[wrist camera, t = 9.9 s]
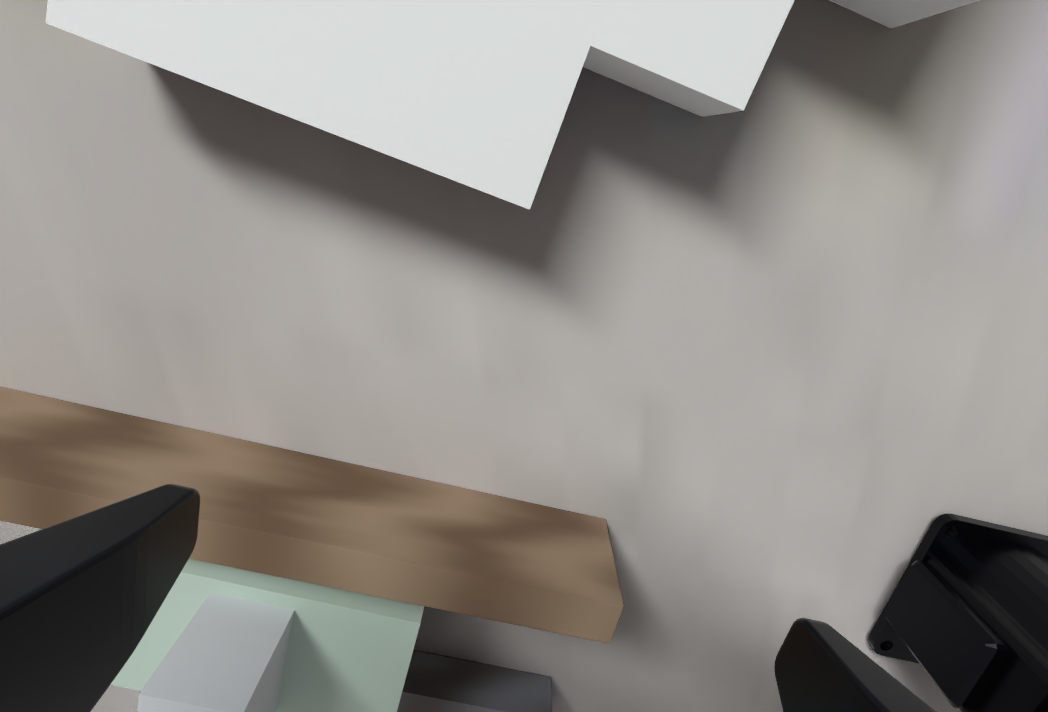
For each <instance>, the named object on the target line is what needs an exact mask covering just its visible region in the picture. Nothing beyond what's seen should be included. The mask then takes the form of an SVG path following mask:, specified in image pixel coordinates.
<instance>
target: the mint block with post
mask: <svg viewBox="0 0 1048 712" xmlns="http://www.w3.org/2000/svg"><path fill="white" fill-rule="evenodd" d="M423 610H424V606H421V605H416V604H411V603H406V602H401V601H396V600H391V599H386V598H381V597H376V596H371V595H366V594H361V593H356V592H352V591H347V590H342V589H337V588H332V587H327V586H322V585H317V584H312V583H307V582H302V581H297V580H292V579H287V578H282V577H277V576H272V575H267V574H263V573H258V572H253V571H248V570H243V569H238V568H233V567H228V566H223V565H218V564H213V563H208V562H203V561H198V560H193V559H188V561H187V563H186V565H185V566H184V568H183V570H182V571H181V573H180V575H179V576H178V578H177V580H176V582H175V583H174V585H173V587H172V588H171V590H170V592H169V593H168V595H167V597H166V598H165V600H164V602H163V604H162V605H161V607H160V609H159V610H158V612H157V614H156V615H155V617H154V619H153V621H152V622H151V624H150V626H149V627H148V629H147V631H146V632H145V634H144V636H143V637H142V639H141V641H140V642H139V644H138V646H137V647H136V649H135V650H134V652H133V654H132V655H131V656H130V658H129V659H128V661H127V662H126V664H125V665H124V666H123V668H122V669H121V671H120V672H119V673H118V675H117V676H116V678H115V679H114V680H113V682H112V683H111V684H110V685H114V686H119V687H124V688H129V689H134V690H139V691H140V693H139V696H138V709H137V712H397V709H398V706H399V702H400V698H401V694H402V691H403V687H404V683H405V679H406V676H407V672H408V668H409V664H410V661H411V657H412V653H413V649H414V646H415V642H416V638H417V635H418V631H419V627H420V623H421V619H422V614H423Z"/></svg>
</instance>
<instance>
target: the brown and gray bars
mask: <svg viewBox="0 0 1048 712" xmlns="http://www.w3.org/2000/svg"><path fill="white" fill-rule="evenodd" d="M166 484H176V485H181V486H185V487H190V488H195V489H196V490H197V491H198V492H199V493H200V511H199V523H198V535H197V541H196V545H195V547H194V550H193V552H192V554H191V556H190V558H189V559H193V560H198V561H203V562H208V563H213V564H218V565H223V566H228V567H233V568H238V569H243V570H248V571H253V572H258V573H263V574H267V575H272V576H277V577H282V578H287V579H292V580H297V581H302V582H307V583H312V584H317V585H322V586H327V587H332V588H337V589H342V590H347V591H352V592H356V593H361V594H366V595H371V596H376V597H381V598H386V599H391V600H396V601H401V602H406V603H411V604H416V605H421V606H426V607H431V608H436V609H441V610H445V611H450V612H455V613H460V614H465V615H470V616H475V617H480V618H485V619H490V620H495V621H500V622H505V623H510V624H515V625H520V626H525V627H529V628H534V629H539V630H544V631H549V632H554V633H559V634H564V635H569V636H574V637H579V638H584V639H589V640H594V641H599V642H604V643H609V644H610V641H611V639H612V636H613V633H614V631H615V628H616V626H617V623H618V620H619V618H620V615H621V612H622V610H623V607H624V605H623V600H622V595H621V591H620V586H619V581H618V576H617V571H616V567H615V562H614V557H613V552H612V548H611V543H610V538H609V533H608V529H607V524H606V519H602V518H597V517H592V516H588V515H583V514H579V513H574V512H570V511H565V510H560V509H556V508H551V507H547V506H542V505H538V504H533V503H528V502H524V501H519V500H515V499H510V498H506V497H501V496H496V495H492V494H487V493H483V492H478V491H474V490H469V489H464V488H460V487H455V486H451V485H446V484H442V483H437V482H432V481H428V480H423V479H419V478H414V477H410V476H405V475H400V474H396V473H391V472H387V471H382V470H378V469H373V468H368V467H364V466H359V465H355V464H350V463H346V462H341V461H336V460H332V459H327V458H323V457H318V456H314V455H309V454H304V453H300V452H295V451H291V450H286V449H282V448H277V447H273V446H268V445H263V444H259V443H254V442H250V441H245V440H241V439H236V438H231V437H227V436H222V435H218V434H213V433H209V432H204V431H199V430H195V429H190V428H186V427H181V426H177V425H172V424H167V423H163V422H158V421H154V420H149V419H145V418H140V417H135V416H131V415H126V414H122V413H117V412H113V411H108V410H103V409H99V408H94V407H90V406H85V405H81V404H76V403H71V402H67V401H62V400H58V399H53V398H49V397H44V396H39V395H35V394H30V393H26V392H21V391H17V390H12V389H7V388H3V387H0V520H1V521H5V522H10V523H15V524H20V525H25V526H30V527H35V528H40V529H45V528H47V527H50V526H53V525H56V524H58V523H61V522H64V521H67V520H69V519H72V518H75V517H78V516H80V515H83V514H86V513H89V512H91V511H94V510H97V509H99V508H102V507H105V506H108V505H110V504H113V503H116V502H119V501H121V500H124V499H127V498H130V497H132V496H135V495H138V494H141V493H143V492H146V491H149V490H151V489H154V488H157V487H160V486H162V485H166ZM397 712H552V696H551V677H547V676H542V675H537V674H532V673H527V672H522V671H517V670H512V669H507V668H502V667H496V666H491V665H486V664H481V663H476V662H471V661H466V660H461V659H456V658H451V657H445V656H440V655H435V654H430V653H425V652H420V651H415V650H413V653H412V657H411V661H410V664H409V668H408V672H407V676H406V679H405V683H404V687H403V691H402V694H401V698H400V702H399V706H398V709H397Z"/></svg>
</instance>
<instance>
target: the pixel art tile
mask: <svg viewBox="0 0 1048 712" xmlns="http://www.w3.org/2000/svg"><path fill="white" fill-rule="evenodd" d="M829 1H831V2H834V3H836V4H838V5H840V6H842V7H845V8H847V9H849V10H851V11H853V12H856V13H858V14H860V15H862V16H864V17H867V18H869V19H871V20H873V21H875V22H878V23H880V24H882V25H884V26H886V27H888V28H891V29H892V28H895V27H898V26H901V25H904V24H908V23H911V22H914V21H917V20H920V19H924V18H927V17H930V16H933V15H936V14H939V13H943V12H946V11H949V10H952V9H955V8H958V7H962V6H965V5H968V4H971V3H974V2H977V1H981V0H829ZM793 3H794V0H48V4H47V14H46V23H47V24H49V25H52V26H54V27H57V28H59V29H62V30H65V31H67V32H70V33H72V34H75V35H78V36H80V37H83V38H85V39H88V40H91V41H93V42H96V43H98V44H101V45H104V46H106V47H109V48H111V49H114V50H117V51H119V52H122V53H124V54H127V55H130V56H132V57H135V58H137V59H140V60H142V61H145V62H148V63H150V64H153V65H155V66H158V67H161V68H163V69H166V70H168V71H171V72H174V73H176V74H179V75H181V76H184V77H187V78H189V79H192V80H194V81H197V82H200V83H202V84H205V85H207V86H210V87H213V88H215V89H218V90H220V91H223V92H226V93H228V94H231V95H233V96H236V97H238V98H241V99H244V100H246V101H249V102H251V103H254V104H257V105H259V106H262V107H264V108H267V109H270V110H272V111H275V112H277V113H280V114H283V115H285V116H288V117H290V118H293V119H296V120H298V121H301V122H303V123H306V124H309V125H311V126H314V127H316V128H319V129H321V130H324V131H327V132H329V133H332V134H334V135H337V136H340V137H342V138H345V139H347V140H350V141H353V142H355V143H358V144H360V145H363V146H366V147H368V148H371V149H373V150H376V151H379V152H381V153H384V154H386V155H389V156H392V157H394V158H397V159H399V160H402V161H404V162H407V163H410V164H412V165H415V166H417V167H420V168H423V169H425V170H428V171H430V172H433V173H436V174H438V175H441V176H443V177H446V178H449V179H451V180H454V181H456V182H459V183H462V184H464V185H467V186H469V187H472V188H475V189H477V190H480V191H482V192H485V193H487V194H490V195H493V196H495V197H498V198H500V199H503V200H506V201H508V202H511V203H513V204H516V205H519V206H521V207H524V208H526V209H529V210H530V208H531V205H532V202H533V200H534V197H535V194H536V192H537V189H538V186H539V183H540V181H541V178H542V175H543V173H544V170H545V167H546V165H547V162H548V159H549V156H550V154H551V151H552V148H553V146H554V143H555V140H556V137H557V135H558V132H559V129H560V127H561V124H562V121H563V119H564V116H565V113H566V110H567V108H568V105H569V102H570V100H571V97H572V94H573V92H574V89H575V86H576V83H577V81H578V78H579V75H580V73H581V70H582V67H584V68H586V69H589V70H591V71H593V72H596V73H598V74H601V75H603V76H605V77H608V78H610V79H613V80H615V81H617V82H620V83H622V84H625V85H627V86H629V87H632V88H634V89H636V90H639V91H641V92H644V93H646V94H648V95H651V96H653V97H656V98H658V99H660V100H663V101H665V102H668V103H670V104H672V105H675V106H677V107H679V108H682V109H684V110H687V111H689V112H691V113H694V114H696V115H699V116H701V117H705V116H712V115H718V114H725V113H731V112H738V111H744V109H745V107H746V104H747V102H748V100H749V98H750V96H751V94H752V91H753V89H754V87H755V85H756V83H757V81H758V78H759V76H760V74H761V72H762V70H763V68H764V65H765V63H766V61H767V59H768V57H769V55H770V52H771V50H772V48H773V46H774V44H775V42H776V39H777V37H778V35H779V33H780V31H781V29H782V26H783V24H784V22H785V20H786V18H787V16H788V13H789V11H790V9H791V7H792V5H793Z"/></svg>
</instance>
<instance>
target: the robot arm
mask: <svg viewBox="0 0 1048 712" xmlns="http://www.w3.org/2000/svg"><path fill="white" fill-rule="evenodd" d="M199 511H200V493H199V492H198V491H197V490H196V489H195V488H190V487H185V486H181V485H176V484H166V485H162V486H160V487H157V488H154V489H151V490H149V491H146V492H143V493H141V494H138V495H135V496H132V497H130V498H127V499H124V500H121V501H119V502H116V503H113V504H110V505H108V506H105V507H102V508H99V509H97V510H94V511H91V512H89V513H86V514H83V515H80V516H78V517H75V518H72V519H69V520H67V521H64V522H61V523H58V524H56V525H53V526H50V527H47V528H45V529H42V530H39V531H36V532H34V533H31V534H28V535H26V536H23V537H20V538H17V539H15V540H12V541H9V542H6V543H4V544H1V545H0V712H90V711H91V710H92V709H93V707H94V706H95V705H96V703H97V702H98V701H99V699H100V698H101V697H102V695H103V694H104V692H105V691H106V690H107V688H108V687H109V686H110V684H111V683H112V682H113V680H114V679H115V678H116V676H117V675H118V673H119V672H120V671H121V669H122V668H123V666H124V665H125V664H126V662H127V661H128V659H129V658H130V656H131V655H132V654H133V652H134V650H135V649H136V647H137V646H138V644H139V642H140V641H141V639H142V637H143V636H144V634H145V632H146V631H147V629H148V627H149V626H150V624H151V622H152V621H153V619H154V617H155V615H156V614H157V612H158V610H159V609H160V607H161V605H162V604H163V602H164V600H165V598H166V597H167V595H168V593H169V592H170V590H171V588H172V587H173V585H174V583H175V582H176V580H177V578H178V576H179V575H180V573H181V571H182V570H183V568H184V566H185V565H186V563H187V561H188V559H189V558H190V556H191V554H192V552H193V550H194V547H195V545H196V541H197V535H198V523H199ZM951 526H952V527H951ZM948 527H951V528H950V529H949V530H947V529H948ZM868 641H869V644H870V645H871V646H872V648H873V649H874V651H875V652H876V653H877V654H880V655H883V656H888V657H893V658H897V659H902V660H907V661H912V662H917V663H920V664H921V666H922V667H923V668H924V670H925V671H926V672H927V674H928V675H929V676H930V678H931V679H932V680H933V682H934V683H935V684H936V686H937V687H938V688H939V689H940V691H941V692H942V693H943V695H944V696H945V697H946V699H947V700H948V701H949V703H950V704H951V705H952V706H953V707H955V708H959V710H960V711H961V712H1048V536H1045V535H1041V534H1037V533H1032V532H1028V531H1024V530H1019V529H1015V528H1011V527H1006V526H1002V525H998V524H993V523H989V522H985V521H980V520H976V519H972V518H967V517H963V516H958V515H954V514H944V515H941V516H939V517H937V518H936V519H935V520H934V522H933V523H932V525H931V527H930V528H929V530H928V532H927V534H926V536H925V537H924V539H923V541H922V543H921V544H920V546H919V548H918V550H917V552H916V553H915V555H914V557H913V559H912V560H911V562H910V564H909V566H908V568H907V569H906V571H905V573H904V575H903V576H902V578H901V580H900V582H899V584H898V585H897V587H896V589H895V591H894V592H893V594H892V596H891V598H890V599H889V601H888V603H887V605H886V607H885V608H884V610H883V612H882V614H881V615H880V617H879V619H878V621H877V623H876V624H875V626H874V628H873V630H872V631H871V633H870V635H869V638H868ZM775 677H776V681H777V685H778V690H779V694H780V698H781V703H782V707H783V712H935V711H934V710H933V709H932V708H930V707H929V706H928V705H927V704H926V703H924V702H923V701H922V700H921V699H919V698H918V697H917V696H916V695H915V694H913V693H912V692H911V691H910V690H908V689H907V688H906V687H905V686H903V685H902V684H901V683H900V682H899V681H897V680H896V679H895V678H894V677H892V676H891V675H890V674H889V673H887V672H886V671H885V670H884V669H883V668H881V667H880V666H879V665H878V664H876V663H875V662H874V661H873V660H871V659H870V658H869V657H868V656H867V655H865V654H864V653H863V652H862V651H860V650H859V649H858V648H857V647H855V646H854V645H853V644H852V643H851V642H849V641H848V640H847V639H846V638H844V637H843V636H842V635H841V634H840V633H838V632H837V631H836V630H835V629H833V628H832V627H831V626H830V625H828V624H826V623H824V622H821V621H816V620H811V619H806V618H799V619H797V620H796V621H795V622H794V623H793V625H792V626H791V628H790V630H789V632H788V634H787V636H786V638H785V640H784V642H783V644H782V646H781V648H780V650H779V652H778V654H777V657H776V660H775Z"/></svg>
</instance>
